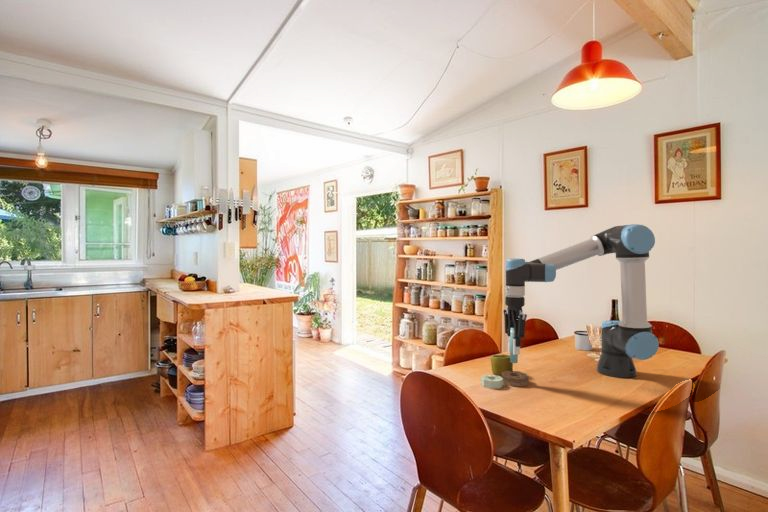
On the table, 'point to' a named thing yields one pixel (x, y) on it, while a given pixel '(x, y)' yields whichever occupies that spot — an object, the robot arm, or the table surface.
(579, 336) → the mug
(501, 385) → the bead
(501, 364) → the mug
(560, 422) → the table surface
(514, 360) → the teal cylinder
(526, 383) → the brown ring
